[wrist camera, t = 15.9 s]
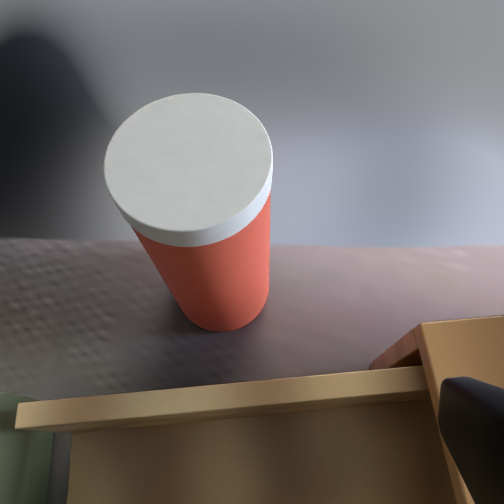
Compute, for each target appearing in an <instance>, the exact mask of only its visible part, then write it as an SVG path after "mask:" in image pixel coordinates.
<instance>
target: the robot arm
mask: <svg viewBox="0 0 504 504" xmlns="http://www.w3.org/2000/svg"><path fill="white" fill-rule="evenodd" d="M438 425H439V430H440V433H441V436H442V438H443V440H444V442H445V444H446V446H447V448H448V450H449V452H450V454H451V456H452V458H453V460H454V462H455V464H456V466H457V468H458V470H459V472H460V474H461V476H462V478H463V480H464V482H465V484H466V487H467V489H468V491H469V493H470V495H471V497H472V499H473V501H474V503H475V504H504V389H503V388H500V387H497V386H495V385H492V384H489V383H486V382H483V381H480V380H477V379H474V378H471V377H466V376H463V377H452V378H445V379H444V380H443V381H442V383H441V386H440V397H439V409H438Z"/></svg>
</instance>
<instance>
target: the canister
mask: <svg viewBox="0 0 504 504" xmlns="http://www.w3.org/2000/svg"><path fill="white" fill-rule="evenodd" d="M272 170H273V154H272V146H271V142H270V139H269V136H268V134H267V131H266V130H265V128H264V127H263V125H262V124H261V122H260V121H259V120H258V119H257V117H256V116H255V115H254V114H252V113H251V112H250V111H249V110H248V109H246V108H245V107H243V106H242V105H240V104H238V103H236V102H234V101H232V100H229V99H227V98H224V97H221V96H217V95H212V94H205V93H187V94H186V93H185V94H178V95H173V96H169V97H165V98H162V99H159V100H156V101H154V102H152V103H150V104H148V105H146V106H144V107H142V108H141V109H139V110H138V111H136V112H135V113H134V114H132V115H131V116H130V117H129V118H127V120H126V121H125V122H123V123H122V124H121V126H120V127H119V128H118V129H117V131H116V132H115V134H114V135H113V137H112V139H111V141H110V143H109V145H108V147H107V151H106V154H105V160H104V178H105V182H106V186H107V189H108V192H109V194H110V195H111V197H112V199H113V201H114V202H115V204H116V206H117V207H118V209H119V210H120V212H121V214H122V215H123V217H124V218H125V219H126V221H127V222H128V223H129V224H130V225H131V227H132V229H133V230H134V232H135V233H136V235H137V237H138V238H139V240H140V242H141V243H142V245H143V247H144V248H145V250H146V252H147V253H148V255H149V257H150V258H151V260H152V261H153V263H154V265H155V266H156V268H157V270H158V271H159V273H160V275H161V276H162V278H163V280H164V281H165V283H166V285H167V286H168V288H169V290H170V291H171V293H172V294H173V296H174V298H175V299H176V301H177V303H178V304H179V306H180V308H181V309H182V311H183V313H184V314H185V315H186V316H187V318H188V319H189V320H190V321H192V322H193V323H194V324H196V325H197V326H199V327H201V328H204V329H206V330H210V331H216V332H227V331H232V330H236V329H239V328H241V327H243V326H245V325H247V324H248V323H250V322H251V321H252V320H253V319H255V318H256V317H257V315H258V314H259V313H260V312H261V310H262V309H263V307H264V305H265V303H266V300H267V297H268V292H269V252H270V192H271V191H270V190H271V185H272V172H273V171H272Z"/></svg>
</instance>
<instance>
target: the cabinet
mask: <svg viewBox="0 0 504 504" xmlns="http://www.w3.org/2000/svg"><path fill="white" fill-rule="evenodd" d="M421 365H423V368H424V372H425V376H426V380H427V384H428V388H429V392H430V396H431V400H432V404H433V408H434V412H435V416H436V420H437V424H438V409H439V397H440V386H441V383H442V381H443V380H444V379H445V378H452V377H463V376H466V377H471V378H474V379H477V380H480V381H483V382H486V383H489V384H492V385H495V386H497V387H500V388H503V389H504V315H498V316H487V317H476V318H465V319H454V320H444V321H433V322H422V323H419V324H418V325H417V326H416V327H415V328H413V329H412V330H410V331H409V332H408V333H407V334H406V335H404V336H403V337H402V338H401V339H400V340H398V341H397V342H396V343H395V344H393V345H392V346H391V347H390V348H389V349H387V350H386V351H385V352H384V353H382V354H381V355H380V356H379V357H378V358H376V359H375V360H374V361H373V362H372V363H371V364H370V368H371V370H378V369H388V368H399V367H410V366H421ZM438 428H439V425H438ZM439 432H440V430H439ZM440 437H441V441H442V445H443V449H444V453H445V457H446V461H447V465H448V469H449V473H450V477H451V481H452V485H453V489H454V493H455V497H456V501H457V504H475V503H474V501H473V499H472V497H471V495H470V493H469V491H468V489H467V487H466V484H465V482H464V480H463V478H462V476H461V474H460V472H459V470H458V468H457V466H456V464H455V462H454V460H453V458H452V456H451V454H450V452H449V450H448V448H447V446H446V444H445V442H444V440H443V438H442V436H441V433H440Z"/></svg>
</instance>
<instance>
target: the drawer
mask: <svg viewBox="0 0 504 504" xmlns="http://www.w3.org/2000/svg"><path fill="white" fill-rule="evenodd" d="M54 432H60V433H72V443H71V455H70V467H69V479H68V492H67V504H457V501H456V497H455V493H454V489H453V485H452V481H451V477H450V473H449V469H448V465H447V461H446V457H445V453H444V449H443V445H442V441H441V437H440V432H439V428H438V424H437V420H436V416H435V412H434V408H433V404H432V400H431V396H430V392H429V388H428V384H427V380H426V376H425V372H424V368H423V365H421V366H410V367H399V368H388V369H378V370H367V371H356V372H346V373H335V374H324V375H313V376H303V377H292V378H281V379H271V380H260V381H249V382H238V383H228V384H217V385H206V386H196V387H185V388H174V389H163V390H153V391H142V392H131V393H121V394H110V395H99V396H88V397H78V398H67V399H56V400H46V401H42V400H37V399H33V398H28V397H24V396H19V395H14V394H10V393H5V392H0V504H47V496H48V486H49V476H50V466H51V456H52V446H53V435H54Z"/></svg>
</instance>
